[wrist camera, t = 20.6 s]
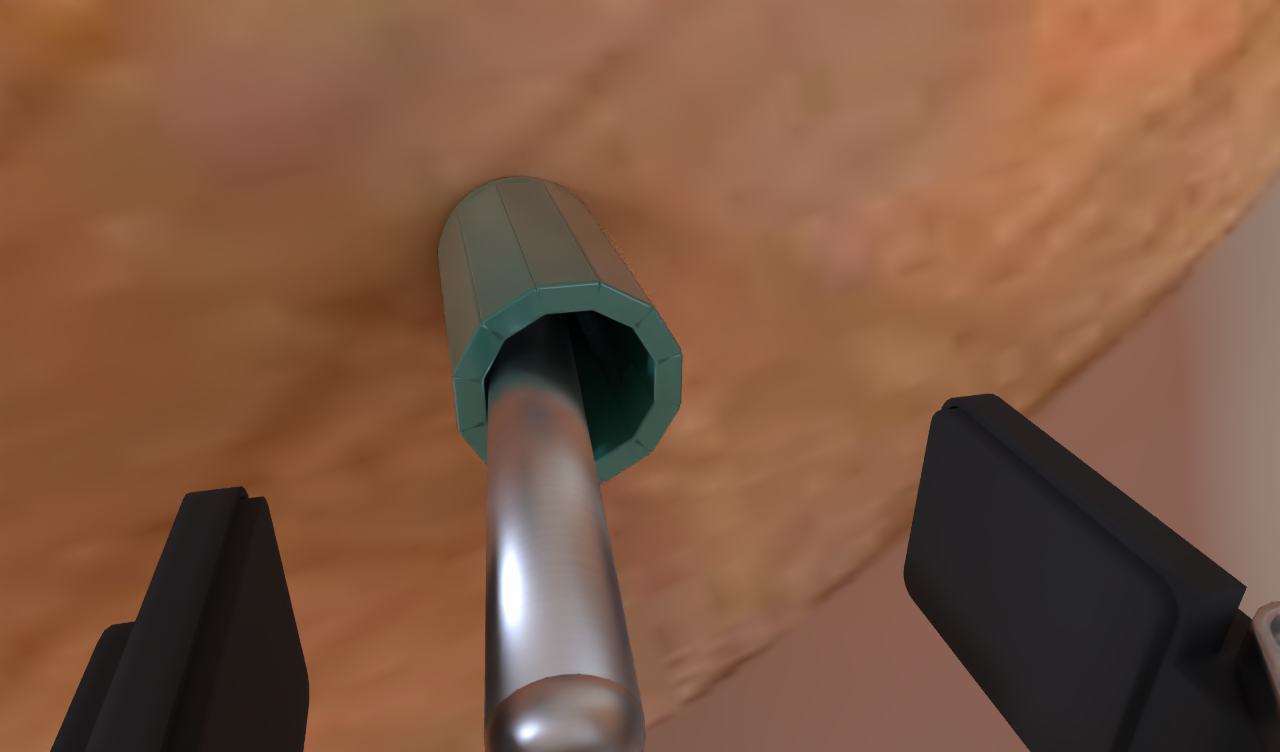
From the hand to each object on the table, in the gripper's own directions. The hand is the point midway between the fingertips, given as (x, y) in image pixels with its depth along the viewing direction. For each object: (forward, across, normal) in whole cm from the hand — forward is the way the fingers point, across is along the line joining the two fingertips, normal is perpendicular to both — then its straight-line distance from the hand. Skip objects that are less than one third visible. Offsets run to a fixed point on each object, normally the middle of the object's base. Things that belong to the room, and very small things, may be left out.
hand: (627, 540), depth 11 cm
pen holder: (+11, 0, 0) cm, 11 cm away
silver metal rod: (+11, 0, 0) cm, 11 cm away
